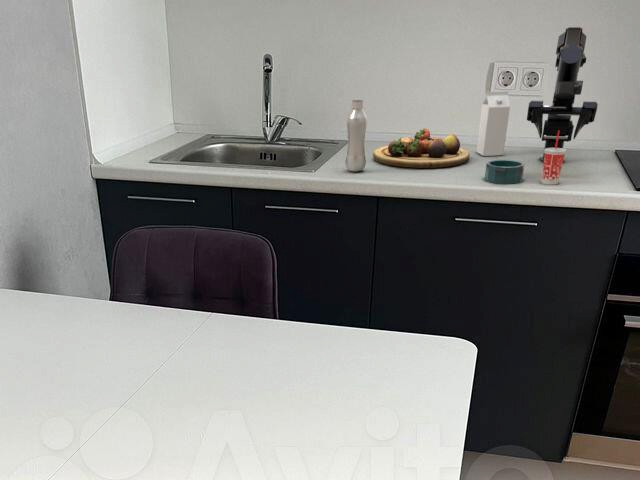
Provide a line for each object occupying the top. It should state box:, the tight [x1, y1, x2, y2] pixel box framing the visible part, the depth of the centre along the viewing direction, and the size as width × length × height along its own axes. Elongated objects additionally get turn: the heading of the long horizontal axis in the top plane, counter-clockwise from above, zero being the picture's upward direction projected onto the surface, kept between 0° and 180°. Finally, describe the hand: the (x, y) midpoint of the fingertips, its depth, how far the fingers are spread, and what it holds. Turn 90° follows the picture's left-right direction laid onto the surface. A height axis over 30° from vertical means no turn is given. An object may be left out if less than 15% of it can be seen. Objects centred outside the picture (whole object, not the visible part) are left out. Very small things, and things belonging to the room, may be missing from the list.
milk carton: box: [476, 90, 511, 157], centre depth 244 cm, size 7×7×19 cm
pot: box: [484, 159, 526, 185], centre depth 216 cm, size 11×14×4 cm
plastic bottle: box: [345, 99, 368, 173], centre depth 226 cm, size 6×7×20 cm
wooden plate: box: [372, 128, 471, 169], centre depth 242 cm, size 32×32×8 cm
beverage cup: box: [541, 130, 567, 186], centre depth 209 cm, size 6×6×14 cm
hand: (557, 137), depth 210 cm, fingers open, 9 cm apart
